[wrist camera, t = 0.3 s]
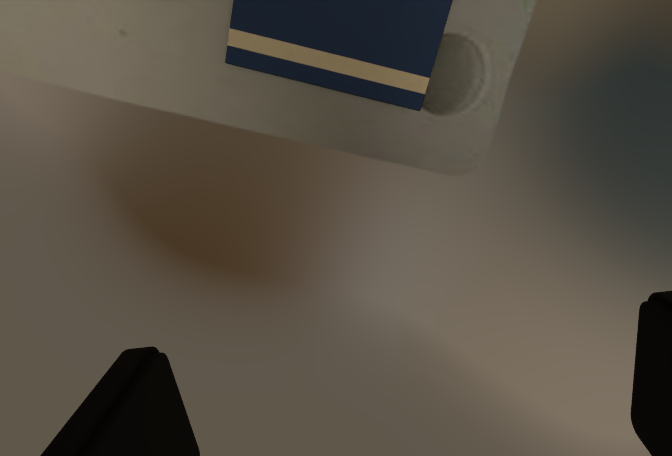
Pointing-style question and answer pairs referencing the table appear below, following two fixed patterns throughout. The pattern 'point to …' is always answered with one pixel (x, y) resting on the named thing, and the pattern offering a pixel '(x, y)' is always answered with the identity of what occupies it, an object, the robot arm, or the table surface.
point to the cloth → (342, 44)
